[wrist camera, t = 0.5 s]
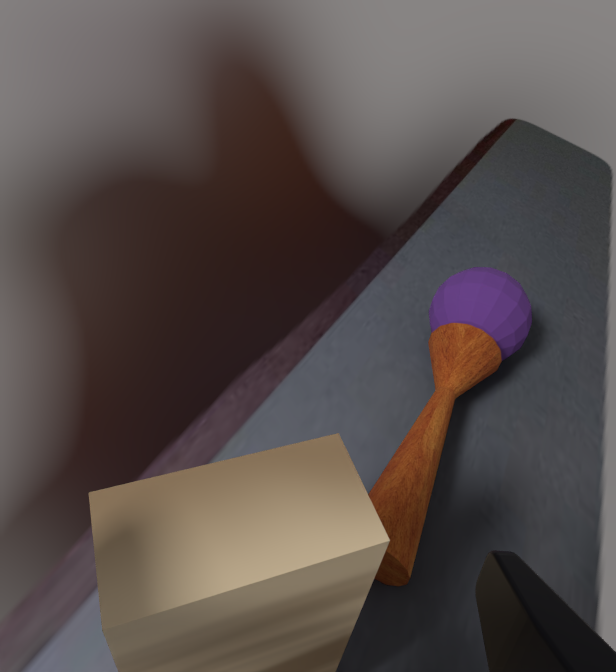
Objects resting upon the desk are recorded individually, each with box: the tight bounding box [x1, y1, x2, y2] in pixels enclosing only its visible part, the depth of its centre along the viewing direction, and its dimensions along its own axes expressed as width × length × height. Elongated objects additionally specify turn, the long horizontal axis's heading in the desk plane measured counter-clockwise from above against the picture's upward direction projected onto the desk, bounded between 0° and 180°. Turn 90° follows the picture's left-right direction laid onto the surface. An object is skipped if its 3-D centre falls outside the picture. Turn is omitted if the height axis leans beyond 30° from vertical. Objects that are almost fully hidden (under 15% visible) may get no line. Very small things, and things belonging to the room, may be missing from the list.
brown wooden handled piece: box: [368, 267, 532, 586], centre depth 30 cm, size 6×6×20 cm
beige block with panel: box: [89, 433, 390, 672], centre depth 17 cm, size 4×6×13 cm, turn 110°
